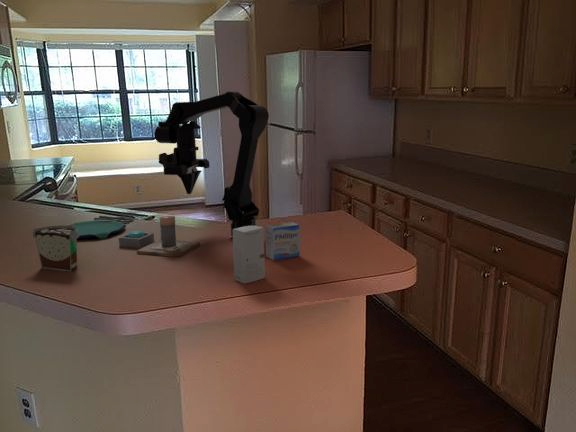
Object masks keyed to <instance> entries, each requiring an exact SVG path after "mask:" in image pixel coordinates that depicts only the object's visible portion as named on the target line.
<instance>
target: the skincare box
mask: <svg viewBox="0 0 576 432" xmlns="http://www.w3.org/2000/svg"><path fill="white" fill-rule="evenodd" d="M232 231H233V236H232V237H233V240H232V254H233V255H232V256H233V274H234V277H233V278H234V280H235V281H236V282H239V283H241V284H244V285H245V284H249V283H250V284H251V283H252V282H257V281H260V280H262V279H265V277H266V275H265V274H266V273H265V267H266V266H265V236H264V227H262V226H257V225H256V226H254V225H250V226H244V227H240V228H235V229H233V230H232Z"/></svg>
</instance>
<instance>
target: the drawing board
mask: <svg viewBox="0 0 576 432" xmlns="http://www.w3.org/2000/svg"><path fill="white" fill-rule="evenodd" d="M199 246H201V241H190V240H189V241H188V240H187V241H186V240H177V239H176V246H172V247H162V244H161V238H160V239H158V240H156V241H154V242H153V243H150V244H148V245H146V246H144V247H142V248H138V249H137V250H136V254H140V255H150V256H151V255H153V256H161V257H172V258H180V257H181V256H183V255H186V254H187V253H189V252H191V251H193V250H194V249H196V248H197V247H199Z"/></svg>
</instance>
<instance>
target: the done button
mask: <svg viewBox="0 0 576 432" xmlns="http://www.w3.org/2000/svg"><path fill="white" fill-rule="evenodd" d="M144 232H145V231H143V230H133V231H129V232H128V233H127V234H128V237H129V238H141V237H143V236H144Z"/></svg>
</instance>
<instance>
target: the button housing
mask: <svg viewBox="0 0 576 432" xmlns="http://www.w3.org/2000/svg"><path fill="white" fill-rule="evenodd" d="M143 232H144V236H143V237H141V238H129V237H128V233H126V234H124V235H122V236H120V237H118V244H119V247H122V248H133V249H134V248H135V249H136V248H137V249H141V248H143V247H145V246H147V245H150V244H152V243H154V242H155V235H154V232H145V231H143Z"/></svg>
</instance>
